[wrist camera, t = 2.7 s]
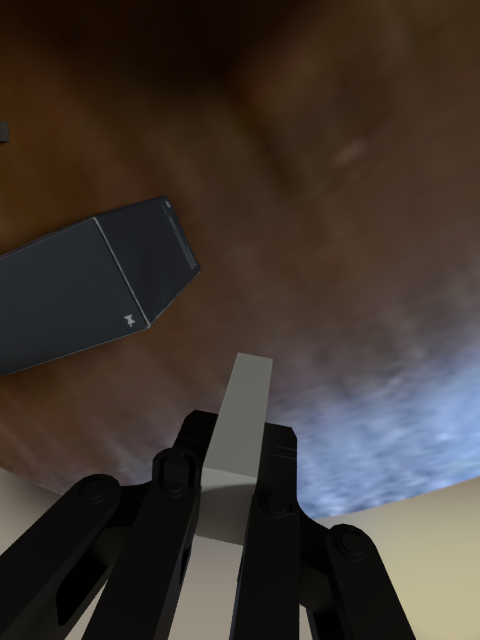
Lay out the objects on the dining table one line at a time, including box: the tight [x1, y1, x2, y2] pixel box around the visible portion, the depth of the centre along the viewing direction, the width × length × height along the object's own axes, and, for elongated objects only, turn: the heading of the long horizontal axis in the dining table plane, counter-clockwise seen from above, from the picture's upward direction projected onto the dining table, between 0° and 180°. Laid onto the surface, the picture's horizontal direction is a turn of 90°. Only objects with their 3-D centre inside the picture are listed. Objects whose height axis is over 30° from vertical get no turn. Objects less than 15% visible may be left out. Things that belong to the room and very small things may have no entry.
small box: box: [0, 196, 201, 376], centre depth 25 cm, size 11×6×10 cm, turn 112°
